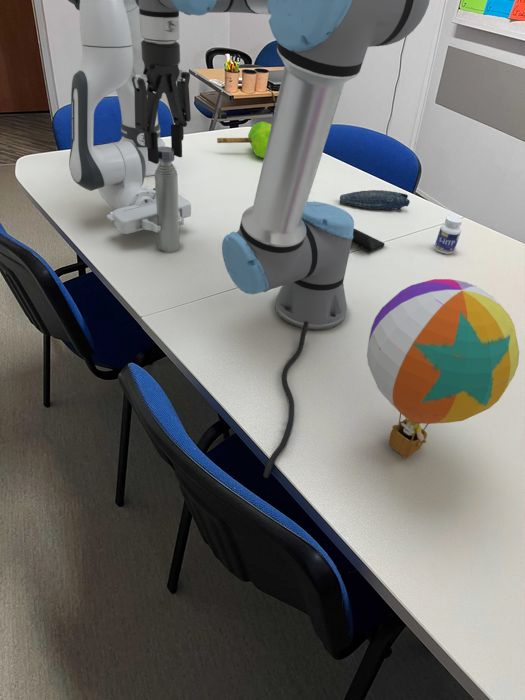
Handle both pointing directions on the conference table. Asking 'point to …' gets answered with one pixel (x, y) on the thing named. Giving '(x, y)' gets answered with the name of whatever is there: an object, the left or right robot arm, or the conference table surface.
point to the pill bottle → (448, 235)
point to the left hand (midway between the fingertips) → (170, 225)
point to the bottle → (167, 206)
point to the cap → (165, 154)
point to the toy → (440, 356)
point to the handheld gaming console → (366, 241)
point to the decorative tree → (253, 138)
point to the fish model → (376, 199)
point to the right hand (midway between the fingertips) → (165, 158)
